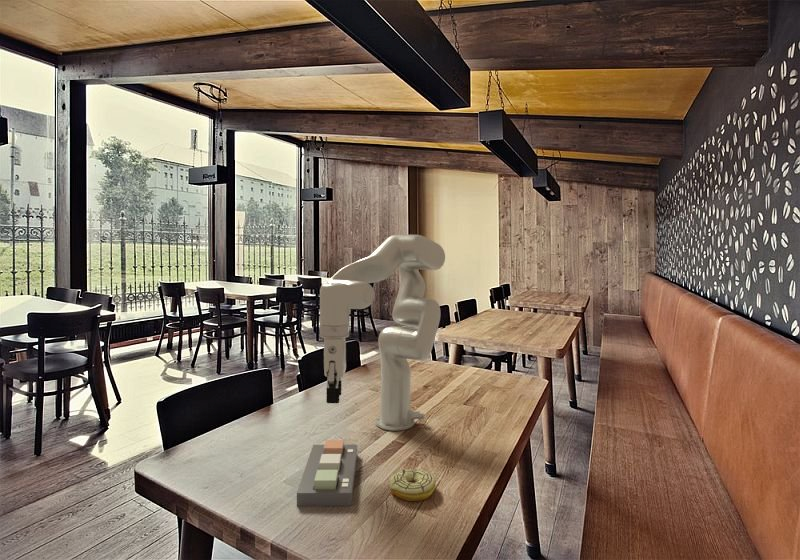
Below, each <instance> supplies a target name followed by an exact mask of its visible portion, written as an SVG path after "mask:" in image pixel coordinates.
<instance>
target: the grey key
mask: <svg viewBox="0 0 800 560" xmlns="http://www.w3.org/2000/svg"><path fill="white" fill-rule="evenodd" d="M340 468H341V454H322V455H321V459H320V462H319V470H338V472H340Z"/></svg>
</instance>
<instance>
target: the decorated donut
mask: <svg viewBox="0 0 800 560" xmlns="http://www.w3.org/2000/svg"><path fill="white" fill-rule="evenodd" d="M389 490H390V491H391V494H392V495H394V496H396V497H397V498H398V499H401V500H403V501H408V502H420V501H424V500H427V499H429V498H430V497H431V495H433V493H434V491H435V490H436V478H435V476H434V475H433V474H432V473H430V472H428V471H426V470H423V469H417V468H411V469H410V468H409V469H407V468H406V469H402V470H400V471H397V472H396V473H394V474H393V475H391V477H390V478H389Z"/></svg>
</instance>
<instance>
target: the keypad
mask: <svg viewBox="0 0 800 560" xmlns="http://www.w3.org/2000/svg"><path fill="white" fill-rule="evenodd" d="M324 445H325V444H313V445H312V448H311V450H310V453H309V456H308V459H307V462H306V465H305V468H304V472H303V473H302V476H301V479H300V483H299V486H298V488H297V492H296V506H297V507H342V506H343V507H351V506H352V502H353V493H354V486H355V477H356V476H355V475H356V469H357V459H358V444H344V452H343V456H341V468H340V472H338V484H337V489H336V490H314V480H315V476H316V473H317V470H319V462H320V459H321V455H322V454H324Z"/></svg>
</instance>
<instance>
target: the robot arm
mask: <svg viewBox="0 0 800 560" xmlns="http://www.w3.org/2000/svg"><path fill="white" fill-rule="evenodd" d="M445 253H446V252H445V250H444V248H443V247H442V246H441V244H439V243H437V242H435V241H434V240H432V239H430V238H428V237H427V236H423V235H421V234H394V235H393V234H392V235H390V236H388V238H387V239H385V240H384V241H383V242H382V243H381V244H380V245H379V246H378V247H377V248H375V250H374V251H373V252H372V253H370V255H369V256H367V257H364V258H362V259H359V260H357V261H355V262H353V263H350V264H348V265H346V266H344V267H342V268H341V269H339V270H338V271H337V272H336V273H334V274H333V276H331V278H330V279H329V280H328V281H327V282H326V283H323V284H322V285H321V286H320V288H319V337H320V338H321V339H324V340H323V341H324V342H323V370H324V376H325V377H327V378H326V379H327V380H326V403H327V404H339V403H340V396H341V395H342V378H343V377H344V376H345V373H346V370H347V346H346V345H347V342H346V339H347V338H348V337H350V310H363V309H366V308H368V307H370V306H371V304H372V303H374V299H375V294H376V293H375V290H374V286H372V285H371V284H373V283H377V282H382V281H383V280H384V281H385V280H387V279H388V278H390V277H391V276H392V274H393V273H394V272H395V271H396V270H397V268H398V271H399V274H400V285H399V290H398V292H397V296H396V299H395V301H394V304H393V308H392V315H391V316H392V319H393V321H394V322H395V323H396V324H398V325H403V327H402V326H396V325H395V326H387V327H385V328H384V329H382V330H381V331H380V333H379V335H378V339H377V341H378V342H377V343H378V349H379V356H380V415H378V416H377V417H375V425H376V426H377V428H378V427H379V428H380V429H383V430H385V431H386V430H387V431H393V432H395V431H405V430H409V429H411V428H412V427H414V425H415V420H424V419H425V413H423V412H422V413H421V411H420V410H415V411H414V410H412V408H411V376H412V374H411V373H412V371H411V366H410V364H409V361H408V360H413V361H419V362H422V361H426V360H427V359H428V358H429V356H430V355H431V352H432V350H433V347H434V342H435V339H436V336H437V331H438V329H439V325H440V320H441V308H440V304H439V303H438V301H437V300H435V299H433V298H428V297H425V292H426V283H425V279H424V278H423V276H422V275H421V273H420V271H419V270H424V271H425V270H426V271H428V270H429V271H437V270H439V269H441V268H442V267H443V266H444V264H445V261H446V254H445ZM404 326H408V327H404ZM409 327H415V328H409Z"/></svg>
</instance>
